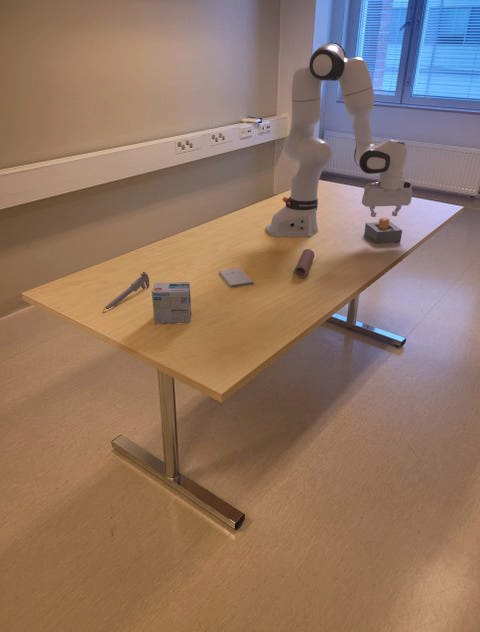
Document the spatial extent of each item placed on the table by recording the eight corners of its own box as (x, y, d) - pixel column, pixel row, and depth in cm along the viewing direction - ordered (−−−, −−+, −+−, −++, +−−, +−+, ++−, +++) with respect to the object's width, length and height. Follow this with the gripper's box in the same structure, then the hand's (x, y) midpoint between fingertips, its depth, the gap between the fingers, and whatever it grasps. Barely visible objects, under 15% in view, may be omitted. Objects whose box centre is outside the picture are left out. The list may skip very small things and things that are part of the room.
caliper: (147, 287, 169) (145, 269, 166) (149, 288, 169) (148, 270, 165) (102, 312, 154) (99, 293, 150) (105, 313, 153) (102, 294, 150)
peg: (379, 240, 208) (382, 221, 204) (375, 236, 212) (377, 218, 208) (388, 239, 209) (391, 220, 205) (383, 236, 213) (386, 217, 209)
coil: (308, 268, 173) (315, 249, 188) (294, 265, 173) (303, 246, 189) (305, 280, 175) (313, 260, 190) (292, 277, 176) (301, 258, 191)
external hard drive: (230, 289, 169) (218, 274, 179) (253, 285, 171) (240, 271, 181) (230, 285, 168) (218, 270, 178) (253, 281, 170) (240, 267, 181)
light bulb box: (191, 313, 153) (190, 281, 148) (190, 324, 147) (189, 291, 142) (156, 313, 153) (153, 281, 147) (154, 324, 147) (151, 291, 142)
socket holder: (375, 243, 205) (377, 231, 202) (364, 234, 214) (365, 223, 212) (400, 241, 207) (402, 230, 204) (388, 232, 216) (389, 221, 214)
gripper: (369, 184, 195) (363, 219, 201) (416, 183, 199) (409, 217, 206) (362, 180, 200) (357, 214, 207) (408, 179, 204) (402, 213, 211)
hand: (383, 216), depth 206 cm, fingers open, 8 cm apart
